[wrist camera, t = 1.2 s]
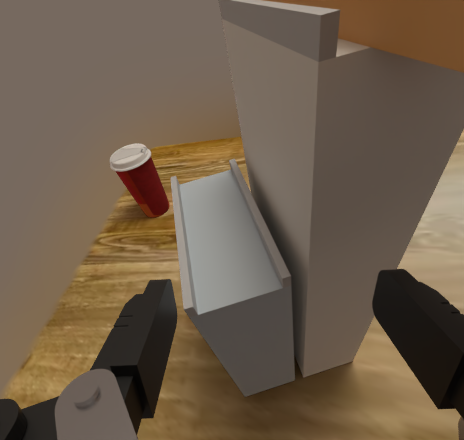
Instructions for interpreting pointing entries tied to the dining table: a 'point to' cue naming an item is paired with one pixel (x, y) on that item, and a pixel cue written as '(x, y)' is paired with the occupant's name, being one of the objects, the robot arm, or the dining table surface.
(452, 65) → the bar
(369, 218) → the tall pale grey pillar
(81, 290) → the dining table surface
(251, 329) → the grey box
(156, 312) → the robot arm
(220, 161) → the dining table surface
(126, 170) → the paper cup
